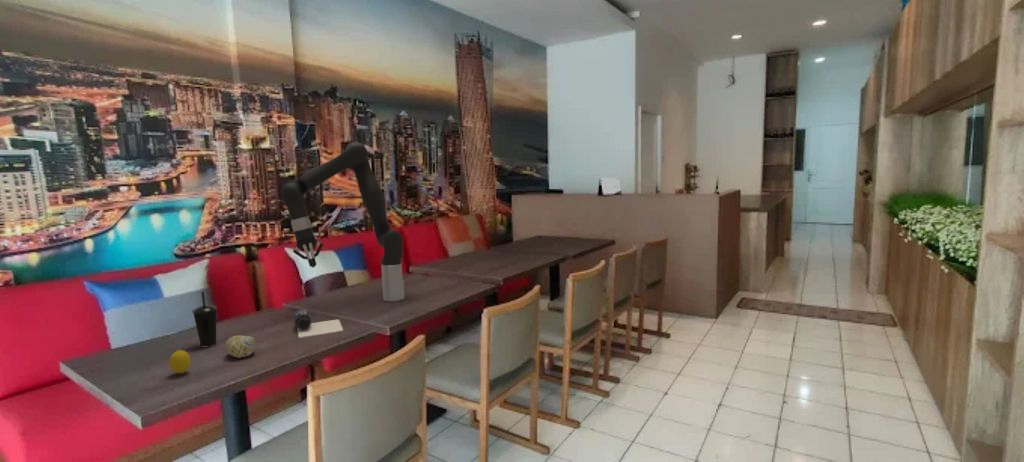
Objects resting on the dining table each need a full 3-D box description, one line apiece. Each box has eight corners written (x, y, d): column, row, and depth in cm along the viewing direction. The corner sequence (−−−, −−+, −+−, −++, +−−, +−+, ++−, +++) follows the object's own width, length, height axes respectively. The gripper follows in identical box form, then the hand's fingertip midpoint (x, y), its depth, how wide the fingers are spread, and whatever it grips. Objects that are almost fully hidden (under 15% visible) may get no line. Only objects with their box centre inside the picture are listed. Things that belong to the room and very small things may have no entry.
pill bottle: (306, 306, 205) (308, 313, 195) (312, 319, 206) (314, 327, 196) (291, 313, 202) (292, 320, 193) (297, 326, 204) (299, 334, 194)
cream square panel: (338, 320, 209) (338, 319, 209) (343, 331, 196) (343, 330, 196) (297, 326, 202) (296, 325, 202) (298, 338, 189) (298, 337, 189)
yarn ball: (235, 346, 180) (245, 322, 179) (257, 359, 179) (267, 335, 178) (213, 356, 170) (224, 331, 169) (237, 370, 169) (248, 345, 168)
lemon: (177, 370, 162) (174, 347, 161) (195, 369, 163) (192, 346, 161) (167, 378, 157) (164, 353, 155) (186, 377, 157) (182, 352, 156)
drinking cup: (225, 342, 186) (219, 289, 183) (207, 350, 179) (201, 295, 176) (210, 340, 189) (204, 288, 186) (191, 347, 182) (184, 294, 179)
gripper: (286, 232, 211) (297, 272, 213) (318, 224, 216) (330, 263, 218) (286, 232, 218) (297, 270, 220) (317, 224, 223) (328, 262, 225)
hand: (313, 267), depth 219 cm, fingers closed
